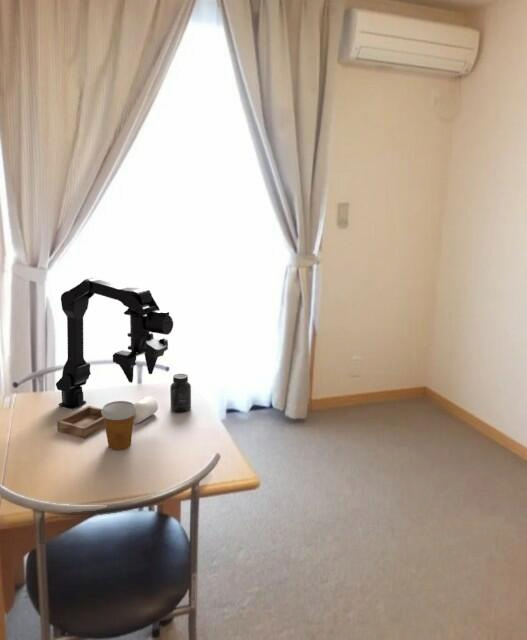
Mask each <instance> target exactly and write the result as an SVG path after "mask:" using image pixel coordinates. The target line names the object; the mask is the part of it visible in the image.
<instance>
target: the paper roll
mask: <svg viewBox="0 0 527 640" xmlns="http://www.w3.org/2000/svg"><path fill="white" fill-rule="evenodd" d="M133 404H134V407H135V409H136V412H135V414H134V420H133V425H134V424H135V425H137V424H139V423H141V422H142V421H144V420H146V419H147V418H149V417H150V416H153V415H154V414H156V413H157V411H158V409H159V406H158V403H157V400H156V399H155V398H154V397H152V396H145V397H143V398H142V399H140V400H138V401H136V402H134V403H133Z"/></svg>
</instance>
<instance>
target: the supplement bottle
mask: <svg viewBox="0 0 527 640" xmlns="http://www.w3.org/2000/svg"><path fill="white" fill-rule="evenodd" d="M172 379H173V380H172V383H171V384H170V388H169V389H170V392H169V394H170V395H169V396H170V410H171V411H172V412H174V413H177V414H183V413H188V412H189V411H191V409H192V384H190V382H188V381H189V376H188V374H185V373H176V374H174V375H173V377H172Z"/></svg>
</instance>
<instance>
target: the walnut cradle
mask: <svg viewBox="0 0 527 640" xmlns="http://www.w3.org/2000/svg"><path fill="white" fill-rule="evenodd" d="M102 410H103V408H101V407H96V406H92V405H88V406H86V407H83V408H82V409H78V411H76V412H74V413H72V414H69V415H68V416H65V417H64V418H63V417H62V418H61V419H59V420H57V421H56V426H57V427H56V429H57V432H59V433H63V434H67V435H69V436H74V437H77V438H80V439H84V440H85V439H87V438H88V437H92V435H94V434H96V433H99V432H100V431H101V430H102V429H104V428H105V423H104V418H103V415H102V414H101V411H102Z"/></svg>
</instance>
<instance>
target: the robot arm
mask: <svg viewBox="0 0 527 640" xmlns="http://www.w3.org/2000/svg"><path fill="white" fill-rule="evenodd" d="M94 295H99V296H103V297H106V298H109V299H112V300H116V301H119V302H121V304H122V305H123V306H125V307H126V308H127V309H126V310H124V312H123V315H126V316H129V321H130V324H129V325H130V327H129V328H130V330H129V331H130V332H128V333H127V337H128V338H130V345H128V346H127V349H128V350H129V351H127V350H123V349H122V350H119V351H116V352H114V353H113V354H112V362H113V363H114V364H116V365H118V366H119V367H120V369H121V370H122V372H123V373H124V375H125V377H126V379H127V381H128V383H130V384H132V383H133V382H134V381H133V380H134V368H135V366H136V365H137V362H136V360H137V357H139V356H142V355H144V358H145V359H144V360H145V363H146V369H147V373H148V374H149V375H152V374H153V373H154V372H153V371H154V370H155V366H156V363H157V361H158V358H159V357H163V356H164V354H165V352H166V351H168V350H169V347H168V346H169V342H168V341H169V340H168V339H167V338H166V337H163V338H160V339H155V338H154V334H161V335H170V333H172V330H173V328H174V321H173V318H172V316H171V315H170V312H169V311H163V310H162V311H161V309H160V307H159V306H158V304H157V302H156V300H155V299H154V297H153V295H152V293H151V291H150V289H149V288H146V287H126V286H122V285H118V284H115V283H111V282H109V281H108V282H107V281H104V280H102V279H101V280H100V279H98V278H96V277H91V278H86V279H84V280H82V282H80V283H79V284H77V285H76V286H73V287H72V288H71V289H69V290H66V291H64V292H63V293H62V294H61V296H60V302H61V310H62V312H63V313H64V314H65V316H66V321H67V322H66V325H67V326H66V327H67V328H66V329H67V335H66V336H67V359H66V361H65V364H64V365H63V368H62V374H61V378H59V379H58V381H57V382H56V383H55V385H56V386H55V387H56V389H57V390H58V391H61V402H60V403H58V406H60V407H65V408H68V409H71V410H74V409H76V408H78V407H80V406H82V405H84V404H87V401H86V400H84V391H83V386H85V385H86V384H87V381H88V380H89V378H90V375H92V374H91V363H89V362H86V360H85V358H84V357H85V356H84V316H85V315H86V312H87V310H88V308H89V303H90V301H89V300H90V299H91V298H92V297H93V296H94ZM153 333H154V334H153Z"/></svg>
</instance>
